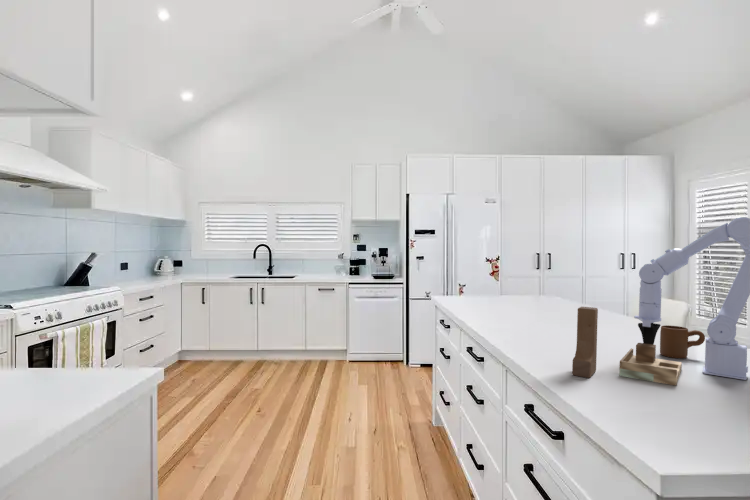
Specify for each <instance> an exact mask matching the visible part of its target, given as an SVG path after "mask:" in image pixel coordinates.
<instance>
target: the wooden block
mask: <svg viewBox="0 0 750 500" xmlns="http://www.w3.org/2000/svg"><path fill="white" fill-rule="evenodd" d="M598 314H599V310H598V307H592V306H591V307H590V306H579V307H578V308H577V316H576V317H577V322H576V323H577V324H576V347H575V354H574V357H573V359H572V370H571V371H572V376H574V377H575V376H576V377H582V378H585V379H590V378H591V377H592V376H593V375H594V374H595V372H596V371H597V355H598V354H597V351H598V350H597V349H598V347H597V346H598V319H599V318H598V317H599V316H598Z"/></svg>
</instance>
